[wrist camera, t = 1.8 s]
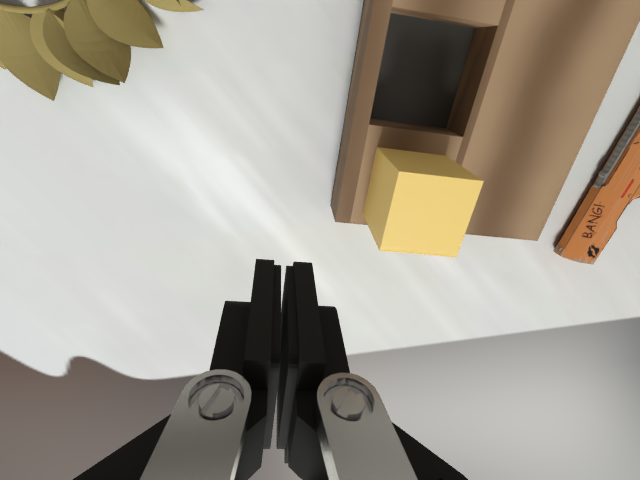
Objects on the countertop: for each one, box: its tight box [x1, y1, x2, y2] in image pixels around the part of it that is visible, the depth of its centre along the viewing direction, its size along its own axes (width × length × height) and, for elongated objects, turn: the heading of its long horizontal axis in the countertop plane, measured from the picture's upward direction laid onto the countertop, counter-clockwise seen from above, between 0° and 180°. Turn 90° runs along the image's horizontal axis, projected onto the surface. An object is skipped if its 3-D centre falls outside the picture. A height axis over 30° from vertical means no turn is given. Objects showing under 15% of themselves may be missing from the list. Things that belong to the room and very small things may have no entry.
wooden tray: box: [331, 0, 640, 241], centre depth 21 cm, size 15×23×5 cm, turn 172°
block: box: [363, 147, 484, 257], centre depth 21 cm, size 4×4×5 cm
